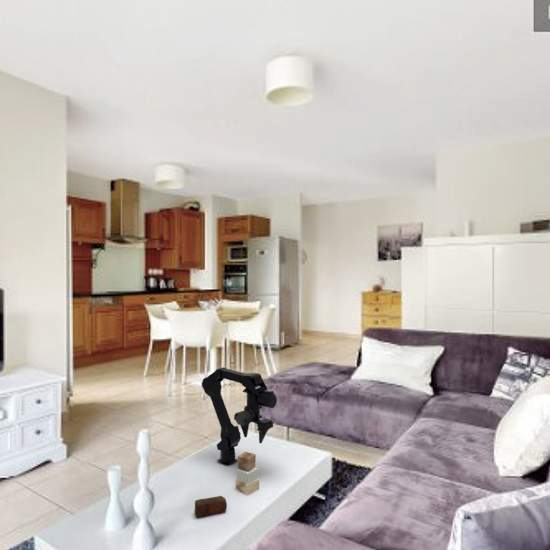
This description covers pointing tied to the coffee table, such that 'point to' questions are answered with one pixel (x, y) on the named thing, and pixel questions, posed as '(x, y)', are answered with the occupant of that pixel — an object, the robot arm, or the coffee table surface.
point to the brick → (210, 506)
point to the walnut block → (246, 461)
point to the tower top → (247, 475)
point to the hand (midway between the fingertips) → (252, 440)
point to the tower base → (247, 486)
